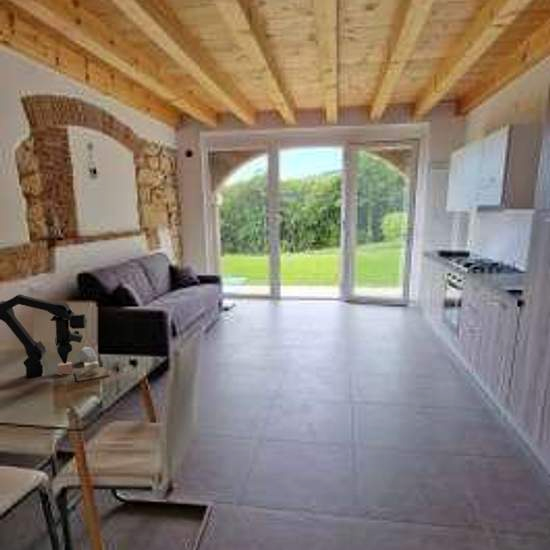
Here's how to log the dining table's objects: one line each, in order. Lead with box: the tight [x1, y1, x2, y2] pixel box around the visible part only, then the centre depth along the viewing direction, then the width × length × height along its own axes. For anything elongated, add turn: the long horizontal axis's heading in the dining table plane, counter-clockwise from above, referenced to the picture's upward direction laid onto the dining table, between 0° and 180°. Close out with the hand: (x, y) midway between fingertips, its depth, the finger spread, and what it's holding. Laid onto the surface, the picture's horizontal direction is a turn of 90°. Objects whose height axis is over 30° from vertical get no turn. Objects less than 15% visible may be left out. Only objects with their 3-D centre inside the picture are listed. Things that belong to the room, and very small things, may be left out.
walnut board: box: [74, 366, 111, 382], centre depth 199 cm, size 14×12×1 cm
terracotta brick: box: [57, 361, 73, 376], centre depth 200 cm, size 6×4×5 cm, turn 120°
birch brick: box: [83, 360, 100, 376], centre depth 199 cm, size 6×4×5 cm, turn 121°
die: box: [76, 346, 97, 364], centre depth 215 cm, size 8×9×10 cm
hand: (64, 360), depth 199 cm, fingers open, 9 cm apart
